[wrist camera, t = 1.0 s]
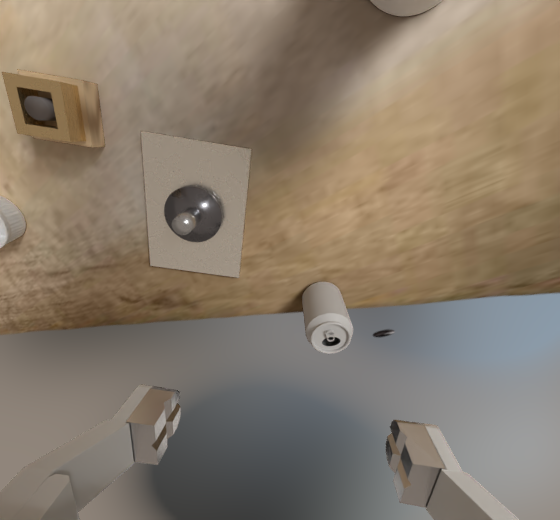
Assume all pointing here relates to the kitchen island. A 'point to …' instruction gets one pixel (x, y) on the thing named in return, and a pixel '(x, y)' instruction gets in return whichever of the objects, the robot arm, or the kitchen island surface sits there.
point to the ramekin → (10, 222)
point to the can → (326, 318)
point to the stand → (89, 106)
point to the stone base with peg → (195, 203)
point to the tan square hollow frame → (63, 103)
